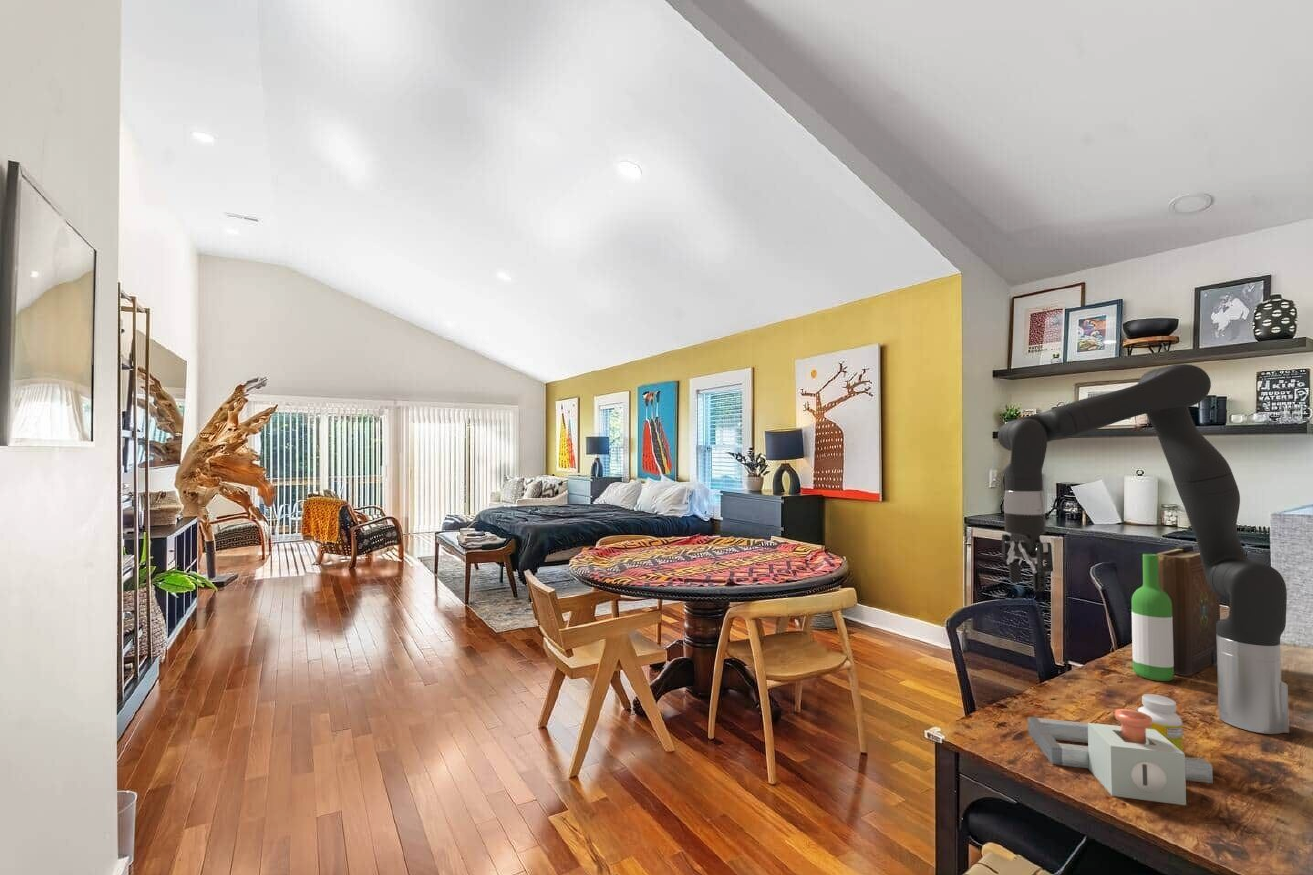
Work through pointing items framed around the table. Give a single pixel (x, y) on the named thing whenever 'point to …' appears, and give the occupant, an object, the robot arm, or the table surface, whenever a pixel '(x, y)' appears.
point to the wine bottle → (1152, 626)
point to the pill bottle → (1163, 717)
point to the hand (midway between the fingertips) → (1026, 586)
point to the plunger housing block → (1137, 765)
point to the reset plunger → (1133, 725)
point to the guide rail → (1078, 755)
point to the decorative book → (1190, 609)
